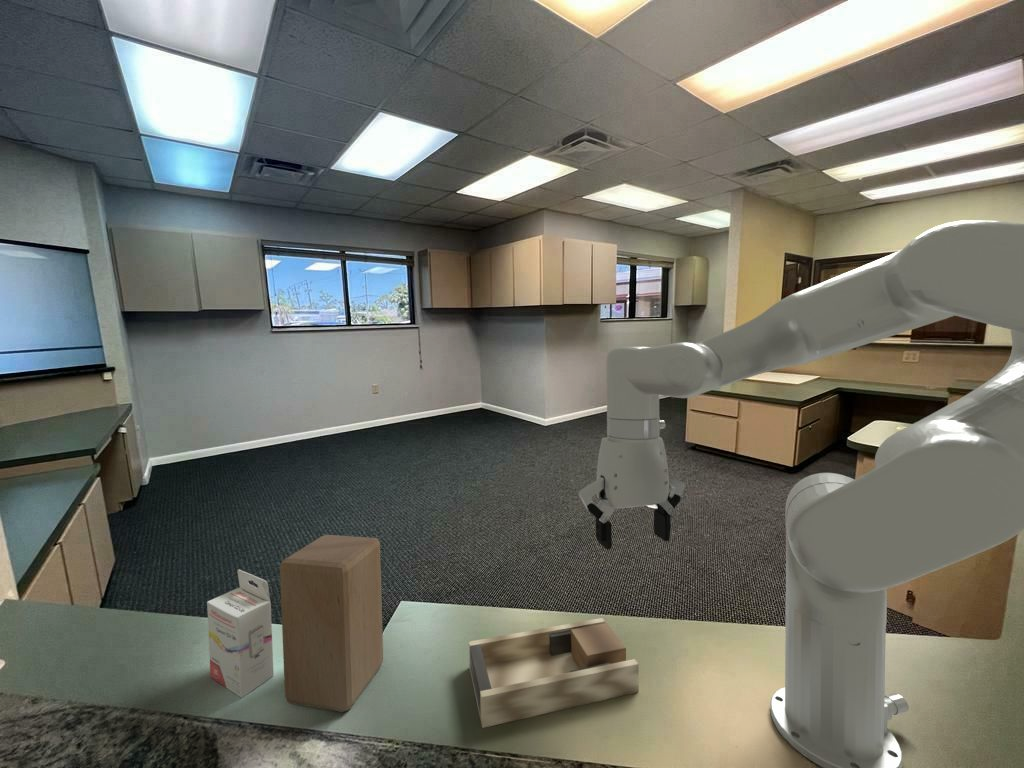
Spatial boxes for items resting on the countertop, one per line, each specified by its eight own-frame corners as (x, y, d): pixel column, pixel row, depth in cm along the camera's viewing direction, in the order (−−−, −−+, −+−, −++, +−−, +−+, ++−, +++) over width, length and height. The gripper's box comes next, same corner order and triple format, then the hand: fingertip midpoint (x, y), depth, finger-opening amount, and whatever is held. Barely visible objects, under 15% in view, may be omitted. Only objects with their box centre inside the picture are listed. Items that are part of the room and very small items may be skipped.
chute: (602, 641, 68) (602, 617, 68) (638, 691, 57) (638, 663, 57) (469, 667, 63) (468, 641, 63) (482, 728, 52) (481, 697, 52)
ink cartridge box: (207, 678, 61) (203, 581, 61) (242, 658, 66) (239, 567, 65) (240, 700, 57) (236, 596, 57) (275, 676, 62) (271, 579, 61)
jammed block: (606, 647, 66) (606, 623, 65) (626, 674, 60) (625, 647, 60) (571, 654, 64) (571, 629, 64) (587, 683, 58) (587, 655, 58)
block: (348, 716, 54) (343, 566, 53) (281, 705, 56) (276, 560, 55) (386, 663, 64) (382, 535, 63) (328, 655, 66) (324, 531, 65)
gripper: (667, 423, 68) (668, 526, 69) (569, 429, 64) (570, 538, 64) (699, 429, 61) (699, 544, 61) (590, 436, 56) (591, 560, 57)
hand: (633, 541), depth 63 cm, fingers open, 9 cm apart
